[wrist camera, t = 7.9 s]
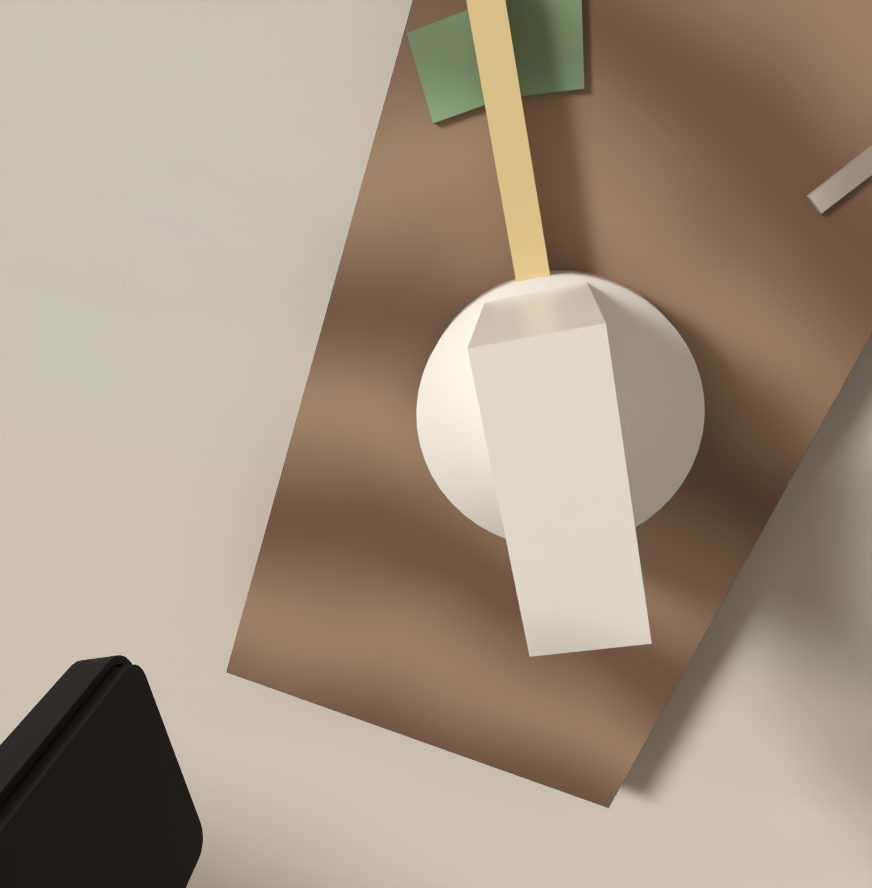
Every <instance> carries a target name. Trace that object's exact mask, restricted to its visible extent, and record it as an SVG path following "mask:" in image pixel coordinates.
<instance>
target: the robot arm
mask: <svg viewBox="0 0 872 888" xmlns="http://www.w3.org/2000/svg"><path fill="white" fill-rule="evenodd" d="M202 842H203V833H202V827H201V823H200V820H199V817H198V815H197V812H196V809H195V807H194V804H193V801H192V799H191V796H190V793H189V791H188V788H187V785H186V783H185V780H184V777H183V775H182V772H181V769H180V767H179V764H178V761H177V758H176V756H175V753H174V750H173V748H172V745H171V742H170V740H169V737H168V734H167V732H166V729H165V726H164V724H163V721H162V718H161V716H160V713H159V710H158V708H157V705H156V702H155V700H154V697H153V694H152V691H151V689H150V686H149V683H148V681H147V678H146V675H145V673H144V671H143V670H142V669H141V668H140V667H139V666H138V665H132V664H131V662H130V661H129V660H128V659H127V658H126V657H124V656H121V655H118V656H110V657H103V658H96V659H88V660H82V661H77V662H76V663H74V664H73V665H72V666H71V667H70V668H69V669H68V670H67V671H66V672H65V673H64V675H63V676H62V677H61V678H60V679H59V680H58V681H57V682H56V683H55V685H54V686H53V687H52V688H51V689H50V690H49V691H48V692H47V694H46V695H45V696H44V697H43V698H42V699H41V700H40V701H39V702H38V704H37V705H36V706H35V707H34V708H33V709H32V710H31V711H30V713H29V714H28V715H27V716H26V717H25V718H24V719H23V720H22V722H21V723H20V724H19V725H18V726H17V727H16V728H15V729H14V730H13V732H12V733H11V734H10V735H9V736H8V737H7V738H6V739H5V741H4V742H3V743H2V744H1V745H0V888H186V886H187V884H188V881H189V879H190V877H191V875H192V873H193V870H194V868H195V866H196V864H197V861H198V859H199V856H200V854H201V849H202Z"/></svg>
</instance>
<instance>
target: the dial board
mask: <svg viewBox="0 0 872 888" xmlns="http://www.w3.org/2000/svg"><path fill="white" fill-rule="evenodd" d="M505 1H506V7H507V13H508V20H509V26H510V32H511V38H512V44H513V50H514V56H515V63H516V69H517V75H518V81H519V87H520V93H521V99H522V106H523V112H524V118H525V124H526V130H527V136H528V142H529V149H530V155H531V161H532V167H533V173H534V179H535V185H536V192H537V198H538V204H539V210H540V216H541V222H542V228H543V235H544V241H545V247H546V253H547V259H548V265H549V271H550V270H572V271H579V272H587V273H592V274H596V275H599V276H603V277H607V278H609V279H612V280H614V281H616V282H619V283H621V284H623V285H625V286H627V287H629V288H630V289H632V290H634V291H635V292H637V293H639V294H641V295H642V296H643V297H644V298H645V299H647V300H648V301H649V302H650V303H652V304H653V305H654V306H655V307H656V308H657V309H658V310H659V311H660V312H661V313H662V314H663V315H664V316H665V317H666V318H667V320H668V321H669V322H670V323H671V324H672V325H673V326H674V328H675V329H676V330H677V331H678V333H679V334H680V336H681V337H682V339H683V340H684V341H685V343H686V344H687V346H688V348H689V350H690V352H691V354H692V356H693V358H694V360H695V363H696V366H697V369H698V372H699V375H700V378H701V382H702V388H703V393H704V409H705V417H704V426H703V434H702V438H701V442H700V446H699V450H698V453H697V455H696V458H695V460H694V463H693V465H692V468H691V469H690V471H689V473H688V475H687V476H686V478H685V480H684V481H683V483H682V485H681V486H680V487H679V488H678V490H677V491H676V492H675V494H674V495H673V496H672V498H671V499H670V500H669V501H668V502H667V503H666V504H665V505H664V506H663V507H662V508H661V509H660V510H659V511H657V512H656V513H655V514H654V515H652V516H651V517H650V518H649V519H647V520H646V521H645V522H643V523H641V524H640V525H638V526H637V527H635V530H636V537H637V544H638V551H639V558H640V565H641V572H642V579H643V586H644V593H645V600H646V607H647V614H648V621H649V628H650V635H651V642H652V644H644V645H635V646H625V647H616V648H607V649H597V650H588V651H579V652H570V653H560V654H551V655H542V656H532V657H530V656H529V651H528V646H527V641H526V636H525V631H524V627H523V622H522V617H521V612H520V607H519V602H518V597H517V592H516V587H515V582H514V577H513V572H512V567H511V562H510V557H509V552H508V547H507V542H506V539H505V538H503V537H500V536H498V535H496V534H493V533H491V532H489V531H488V530H486V529H484V528H482V527H481V526H479V525H477V524H476V523H474V522H473V521H472V520H470V519H469V518H468V517H466V516H465V515H464V514H463V513H462V512H460V511H459V510H458V509H457V508H456V507H455V506H454V505H453V504H452V503H451V502H450V501H449V499H448V498H447V497H446V496H445V494H444V493H443V492H442V491H441V490H440V488H439V486H438V485H437V483H436V482H435V480H434V478H433V477H432V475H431V473H430V471H429V468H428V466H427V464H426V462H425V460H424V456H423V453H422V450H421V447H420V443H419V437H418V431H417V415H416V408H417V399H418V391H419V387H420V383H421V379H422V375H423V372H424V370H425V367H426V365H427V362H428V360H429V357H430V356H431V354H432V352H433V350H434V348H435V347H436V345H437V343H438V341H439V340H440V338H441V336H442V334H443V333H444V331H445V330H446V328H447V327H448V326H449V324H450V323H451V322H452V321H453V319H454V318H455V317H456V316H457V315H458V314H459V313H460V312H461V311H462V310H463V309H464V308H465V307H466V306H467V305H468V304H469V303H471V302H472V301H473V300H475V299H476V298H477V297H478V296H480V295H481V294H483V293H484V292H486V291H488V290H490V289H491V288H493V287H495V286H496V285H498V284H501V283H503V282H506V281H508V280H510V279H513V278H515V273H514V267H513V261H512V256H511V250H510V244H509V239H508V233H507V227H506V222H505V216H504V210H503V205H502V199H501V193H500V188H499V182H498V176H497V171H496V165H495V159H494V154H493V148H492V143H491V137H490V131H489V126H488V120H487V114H486V109H485V103H484V97H483V92H482V86H481V80H480V75H479V69H478V63H477V58H476V52H475V46H474V41H473V35H472V30H471V24H470V18H469V13H468V7H467V1H466V0H413V1H412V5H411V9H410V12H409V16H408V20H407V23H406V27H405V30H404V34H403V38H402V41H401V45H400V48H399V52H398V56H397V59H396V63H395V66H394V70H393V74H392V77H391V81H390V84H389V88H388V92H387V95H386V99H385V102H384V106H383V110H382V113H381V117H380V120H379V124H378V128H377V131H376V135H375V138H374V142H373V146H372V149H371V153H370V156H369V160H368V164H367V167H366V171H365V174H364V178H363V182H362V185H361V189H360V192H359V196H358V200H357V203H356V207H355V210H354V214H353V218H352V221H351V225H350V228H349V232H348V236H347V239H346V243H345V246H344V250H343V254H342V257H341V261H340V264H339V268H338V272H337V275H336V279H335V282H334V286H333V290H332V293H331V297H330V300H329V304H328V308H327V311H326V315H325V319H324V322H323V326H322V329H321V333H320V337H319V340H318V344H317V347H316V351H315V355H314V358H313V362H312V365H311V369H310V373H309V376H308V380H307V383H306V387H305V391H304V394H303V398H302V401H301V405H300V409H299V412H298V416H297V419H296V423H295V427H294V430H293V434H292V437H291V441H290V445H289V448H288V452H287V455H286V459H285V463H284V466H283V470H282V473H281V477H280V481H279V484H278V488H277V491H276V495H275V499H274V502H273V506H272V509H271V513H270V517H269V520H268V524H267V527H266V531H265V535H264V538H263V542H262V545H261V549H260V553H259V556H258V560H257V563H256V567H255V571H254V574H253V578H252V581H251V585H250V589H249V592H248V596H247V600H246V603H245V607H244V610H243V614H242V618H241V621H240V625H239V628H238V632H237V636H236V639H235V643H234V646H233V650H232V654H231V657H230V661H229V664H228V668H227V673H230V674H233V675H236V676H239V677H242V678H244V679H247V680H250V681H253V682H256V683H258V684H261V685H264V686H267V687H270V688H272V689H275V690H278V691H281V692H284V693H287V694H289V695H292V696H295V697H298V698H301V699H303V700H306V701H309V702H312V703H315V704H318V705H320V706H323V707H326V708H329V709H332V710H334V711H337V712H340V713H343V714H346V715H348V716H351V717H354V718H357V719H360V720H363V721H365V722H368V723H371V724H374V725H377V726H379V727H382V728H385V729H388V730H391V731H393V732H396V733H399V734H402V735H405V736H408V737H410V738H413V739H416V740H419V741H422V742H424V743H427V744H430V745H433V746H436V747H439V748H441V749H444V750H447V751H450V752H453V753H455V754H458V755H461V756H464V757H467V758H469V759H472V760H475V761H478V762H481V763H484V764H486V765H489V766H492V767H495V768H498V769H500V770H503V771H506V772H509V773H512V774H514V775H517V776H520V777H523V778H526V779H529V780H531V781H534V782H537V783H540V784H543V785H545V786H548V787H551V788H554V789H557V790H560V791H562V792H565V793H568V794H571V795H574V796H576V797H579V798H582V799H585V800H588V801H590V802H593V803H596V804H599V805H602V806H605V807H607V808H609V806H610V805H611V803H612V801H613V799H614V797H615V796H616V794H617V792H618V790H619V788H620V787H621V785H622V783H623V781H624V779H625V777H626V776H627V774H628V772H629V770H630V768H631V767H632V765H633V763H634V761H635V759H636V758H637V756H638V754H639V752H640V750H641V749H642V747H643V745H644V743H645V741H646V740H647V738H648V736H649V734H650V732H651V731H652V729H653V727H654V725H655V723H656V722H657V720H658V718H659V716H660V714H661V712H662V711H663V709H664V707H665V705H666V703H667V702H668V700H669V698H670V696H671V694H672V693H673V691H674V689H675V687H676V685H677V684H678V682H679V680H680V678H681V676H682V675H683V673H684V671H685V669H686V667H687V666H688V664H689V662H690V660H691V658H692V656H693V655H694V653H695V651H696V649H697V647H698V646H699V644H700V642H701V640H702V638H703V637H704V635H705V633H706V631H707V629H708V628H709V626H710V624H711V622H712V620H713V619H714V617H715V615H716V613H717V611H718V610H719V608H720V606H721V604H722V602H723V601H724V599H725V597H726V595H727V593H728V591H729V590H730V588H731V586H732V584H733V582H734V581H735V579H736V577H737V575H738V573H739V572H740V570H741V568H742V566H743V564H744V563H745V561H746V559H747V557H748V555H749V554H750V552H751V550H752V548H753V546H754V545H755V543H756V541H757V539H758V537H759V536H760V534H761V532H762V530H763V528H764V526H765V525H766V523H767V521H768V519H769V517H770V516H771V514H772V512H773V510H774V508H775V507H776V505H777V503H778V501H779V499H780V498H781V496H782V494H783V492H784V490H785V489H786V487H787V485H788V483H789V481H790V480H791V478H792V476H793V474H794V472H795V470H796V469H797V467H798V465H799V463H800V461H801V460H802V458H803V456H804V454H805V452H806V451H807V449H808V447H809V445H810V443H811V442H812V440H813V438H814V436H815V434H816V433H817V431H818V429H819V427H820V425H821V424H822V422H823V420H824V418H825V416H826V415H827V413H828V411H829V409H830V407H831V405H832V404H833V402H834V400H835V398H836V396H837V395H838V393H839V391H840V389H841V387H842V386H843V384H844V382H845V380H846V378H847V377H848V375H849V373H850V371H851V369H852V368H853V366H854V364H855V362H856V360H857V359H858V357H859V355H860V353H861V351H862V350H863V348H864V346H865V344H866V342H867V340H868V339H869V337H870V335H871V333H872V0H505Z"/></svg>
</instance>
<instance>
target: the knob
mask: <svg viewBox="0 0 872 888" xmlns="http://www.w3.org/2000/svg"><path fill="white" fill-rule="evenodd" d="M466 1H467V7H468V13H469V18H470V24H471V30H472V35H473V41H474V46H475V52H476V58H477V63H478V69H479V75H480V80H481V86H482V92H483V97H484V103H485V109H486V114H487V120H488V126H489V131H490V137H491V143H492V148H493V154H494V159H495V165H496V171H497V176H498V182H499V188H500V193H501V199H502V205H503V210H504V216H505V222H506V227H507V233H508V239H509V244H510V250H511V256H512V261H513V267H514V273H515V278H513V279H510V280H508V281H506V282H503V283H501V284H498V285H496V286H495V287H493V288H491V289H490V290H488V291H486V292H484V293H483V294H481V295H480V296H478V297H477V298H476V299H475V300H473V301H472V302H471V303H469V304H468V305H467V306H466V307H465V308H464V309H463V310H462V311H461V312H460V313H459V314H458V315H457V316H456V317H455V318H454V319H453V321H452V322H451V323H450V324H449V326H448V327H447V328H446V330H445V331H444V333H443V334H442V336H441V338H440V340H439V341H438V343H437V345H436V347H435V348H434V350H433V352H432V354H431V356H430V357H429V360H428V362H427V365H426V367H425V370H424V372H423V375H422V379H421V383H420V387H419V391H418V399H417V408H416V415H417V431H418V437H419V443H420V447H421V450H422V453H423V456H424V460H425V462H426V464H427V466H428V468H429V471H430V473H431V475H432V477H433V478H434V480H435V482H436V483H437V485H438V486H439V488H440V490H441V491H442V492H443V493H444V494H445V496H446V497H447V498H448V499H449V501H450V502H451V503H452V504H453V505H454V506H455V507H456V508H457V509H458V510H459V511H460V512H462V513H463V514H464V515H465V516H466V517H468V518H469V519H470V520H472V521H473V522H474V523H476V524H477V525H479V526H481V527H482V528H484V529H486V530H488V531H489V532H491V533H493V534H496V535H498V536H500V537H503V538H505V539H506V542H507V547H508V552H509V557H510V562H511V567H512V572H513V577H514V582H515V587H516V592H517V597H518V602H519V607H520V612H521V617H522V622H523V627H524V631H525V636H526V641H527V646H528V651H529V656H530V657H532V656H542V655H551V654H560V653H570V652H579V651H588V650H597V649H607V648H616V647H625V646H635V645H644V644H652V642H651V635H650V628H649V621H648V614H647V607H646V600H645V593H644V586H643V579H642V572H641V565H640V558H639V551H638V544H637V537H636V530H635V527H637V526H638V525H640V524H641V523H643V522H645V521H646V520H647V519H649V518H650V517H651V516H652V515H654V514H655V513H656V512H657V511H659V510H660V509H661V508H662V507H663V506H664V505H665V504H666V503H667V502H668V501H669V500H670V499H671V498H672V496H673V495H674V494H675V492H676V491H677V490H678V488H679V487H680V486H681V485H682V483H683V481H684V480H685V478H686V476H687V475H688V473H689V471H690V469H691V468H692V465H693V463H694V460H695V458H696V455H697V453H698V450H699V446H700V442H701V438H702V434H703V426H704V417H705V409H704V393H703V388H702V382H701V378H700V375H699V372H698V369H697V366H696V363H695V360H694V358H693V356H692V354H691V352H690V350H689V348H688V346H687V344H686V343H685V341H684V340H683V339H682V337H681V336H680V334H679V333H678V331H677V330H676V329H675V328H674V326H673V325H672V324H671V323H670V322H669V321H668V320H667V318H666V317H665V316H664V315H663V314H662V313H661V312H660V311H659V310H658V309H657V308H656V307H655V306H654V305H653V304H652V303H650V302H649V301H648V300H647V299H645V298H644V297H643V296H642V295H641V294H639V293H637V292H635V291H634V290H632V289H630V288H629V287H627V286H625V285H623V284H621V283H619V282H616V281H614V280H612V279H609V278H607V277H603V276H599V275H596V274H592V273H587V272H579V271H572V270H550V271H549V265H548V259H547V253H546V247H545V241H544V235H543V228H542V222H541V216H540V210H539V204H538V198H537V192H536V185H535V179H534V173H533V167H532V161H531V155H530V149H529V142H528V136H527V130H526V124H525V118H524V112H523V106H522V99H521V93H520V87H519V81H518V75H517V69H516V63H515V56H514V50H513V44H512V38H511V32H510V26H509V20H508V13H507V7H506V1H505V0H466Z"/></svg>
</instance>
